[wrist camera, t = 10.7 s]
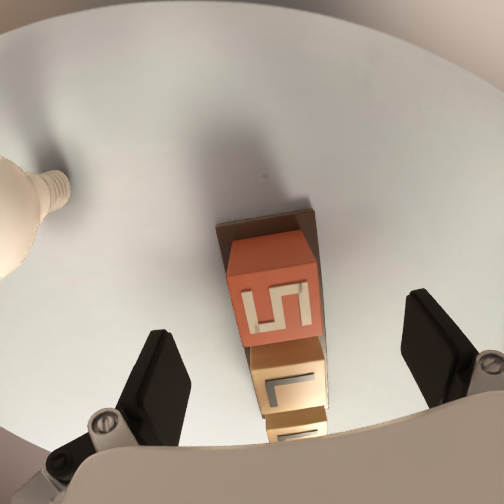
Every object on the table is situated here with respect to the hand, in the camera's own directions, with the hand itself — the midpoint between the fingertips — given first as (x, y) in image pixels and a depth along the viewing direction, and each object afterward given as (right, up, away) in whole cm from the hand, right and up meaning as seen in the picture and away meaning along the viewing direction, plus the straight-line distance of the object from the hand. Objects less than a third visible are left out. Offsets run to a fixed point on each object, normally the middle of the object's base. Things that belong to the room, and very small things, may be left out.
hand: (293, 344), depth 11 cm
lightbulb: (-15, +8, +7) cm, 18 cm away
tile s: (0, +3, +8) cm, 8 cm away
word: (+1, -3, +11) cm, 11 cm away
